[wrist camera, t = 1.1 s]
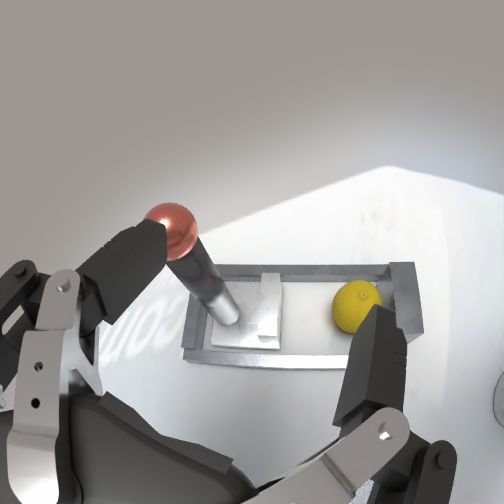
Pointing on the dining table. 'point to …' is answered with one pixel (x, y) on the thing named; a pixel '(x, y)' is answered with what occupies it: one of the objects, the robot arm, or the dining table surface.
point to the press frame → (389, 276)
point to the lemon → (354, 304)
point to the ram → (221, 287)
